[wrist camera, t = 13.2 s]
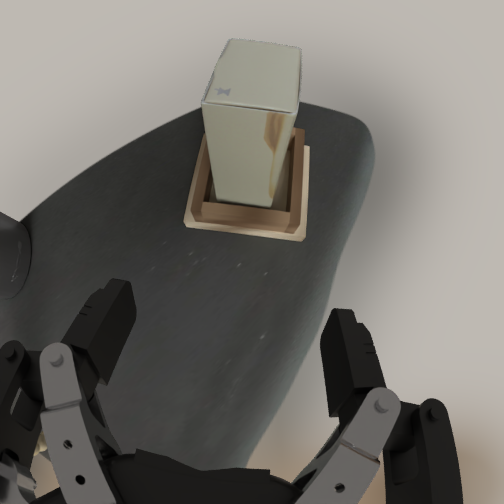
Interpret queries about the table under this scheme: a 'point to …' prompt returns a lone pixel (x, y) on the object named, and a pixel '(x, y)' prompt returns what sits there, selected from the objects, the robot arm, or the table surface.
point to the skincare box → (251, 119)
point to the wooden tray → (248, 218)
